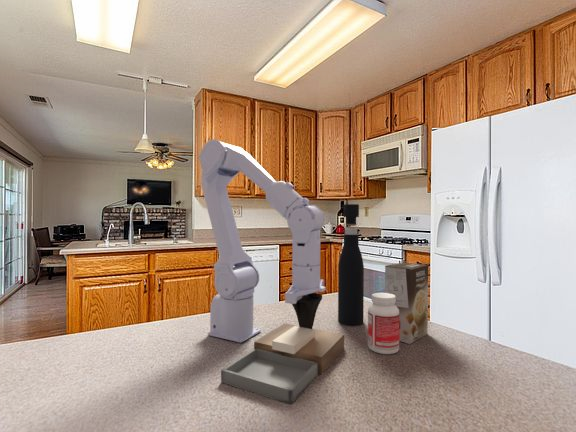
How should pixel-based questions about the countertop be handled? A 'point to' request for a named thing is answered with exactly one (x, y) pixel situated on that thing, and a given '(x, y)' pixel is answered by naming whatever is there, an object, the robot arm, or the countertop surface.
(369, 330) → the pill bottle
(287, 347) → the tile
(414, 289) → the coffee box
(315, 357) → the board
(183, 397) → the countertop surface
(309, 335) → the tile
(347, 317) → the black water bottle
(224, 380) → the tray
